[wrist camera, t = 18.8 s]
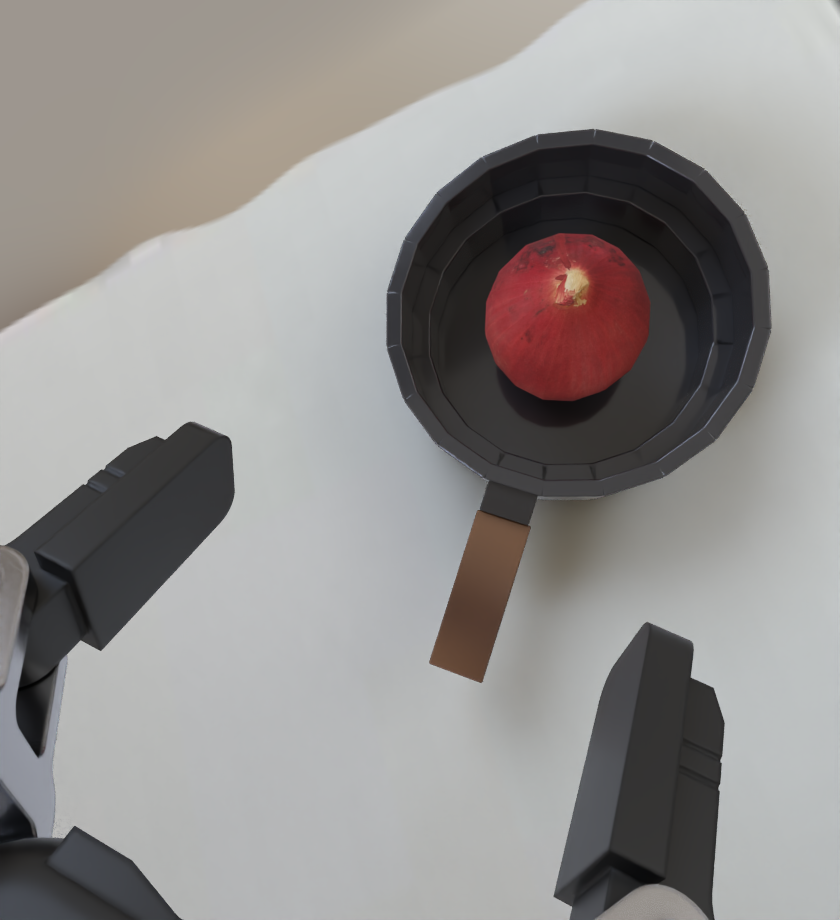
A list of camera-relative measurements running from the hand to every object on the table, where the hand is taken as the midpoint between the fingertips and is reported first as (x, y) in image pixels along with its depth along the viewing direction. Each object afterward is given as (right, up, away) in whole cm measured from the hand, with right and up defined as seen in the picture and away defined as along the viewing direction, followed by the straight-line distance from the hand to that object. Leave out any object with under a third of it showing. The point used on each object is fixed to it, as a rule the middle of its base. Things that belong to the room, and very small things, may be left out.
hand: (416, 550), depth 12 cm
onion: (+6, +6, +16) cm, 18 cm away
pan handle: (+3, -3, +13) cm, 13 cm away
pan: (+6, +7, +16) cm, 18 cm away
